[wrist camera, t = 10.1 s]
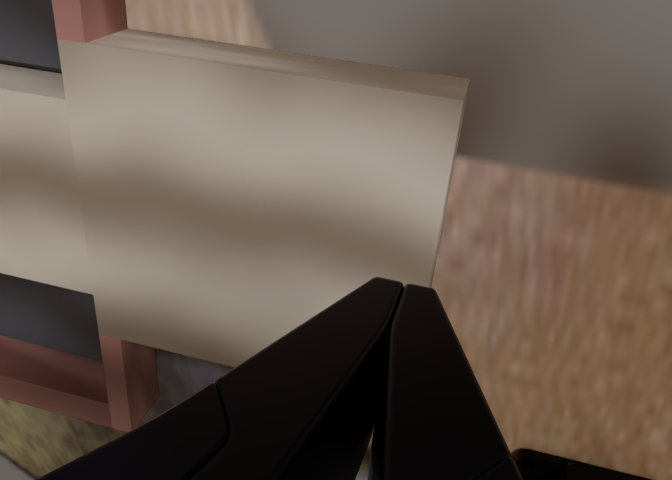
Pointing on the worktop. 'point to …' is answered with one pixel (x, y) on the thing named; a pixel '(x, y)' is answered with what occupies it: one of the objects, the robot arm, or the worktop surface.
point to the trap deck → (195, 198)
